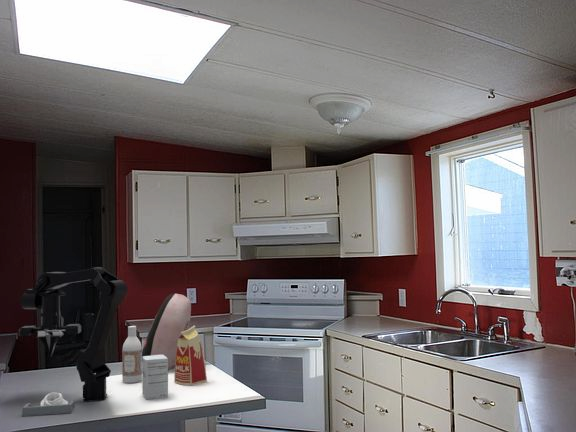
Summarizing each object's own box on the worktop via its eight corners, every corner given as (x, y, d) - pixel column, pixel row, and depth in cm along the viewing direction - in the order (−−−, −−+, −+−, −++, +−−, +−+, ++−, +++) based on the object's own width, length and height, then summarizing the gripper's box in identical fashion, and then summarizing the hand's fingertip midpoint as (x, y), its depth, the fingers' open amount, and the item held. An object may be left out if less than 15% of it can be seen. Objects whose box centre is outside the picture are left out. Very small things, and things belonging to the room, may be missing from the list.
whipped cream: (68, 407, 172) (70, 391, 173) (66, 410, 166) (67, 394, 167) (41, 407, 170) (43, 391, 171) (38, 411, 164) (39, 394, 164)
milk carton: (191, 378, 203) (190, 324, 205) (208, 381, 198) (207, 325, 199) (171, 383, 196) (171, 327, 198) (188, 386, 190) (188, 328, 192)
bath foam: (119, 383, 197) (119, 327, 198) (126, 379, 204) (126, 325, 205) (138, 383, 197) (138, 327, 198) (144, 379, 204) (144, 324, 205)
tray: (74, 408, 166) (74, 400, 167) (71, 412, 162) (71, 404, 162) (27, 411, 164) (27, 403, 164) (22, 416, 159) (22, 407, 160)
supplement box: (141, 394, 181) (141, 356, 182) (164, 391, 184) (164, 353, 185) (145, 399, 175) (145, 359, 175) (168, 397, 177) (168, 357, 178)
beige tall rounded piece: (148, 362, 234) (148, 292, 236) (194, 361, 235) (193, 291, 237) (137, 374, 212) (137, 296, 214) (188, 372, 214) (187, 295, 215)
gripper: (84, 306, 194) (84, 350, 193) (28, 308, 191) (28, 353, 190) (77, 309, 183) (77, 356, 182) (18, 311, 180) (17, 359, 179)
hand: (50, 356), depth 183 cm, fingers closed
